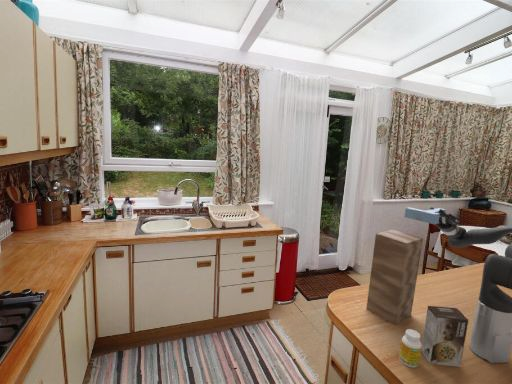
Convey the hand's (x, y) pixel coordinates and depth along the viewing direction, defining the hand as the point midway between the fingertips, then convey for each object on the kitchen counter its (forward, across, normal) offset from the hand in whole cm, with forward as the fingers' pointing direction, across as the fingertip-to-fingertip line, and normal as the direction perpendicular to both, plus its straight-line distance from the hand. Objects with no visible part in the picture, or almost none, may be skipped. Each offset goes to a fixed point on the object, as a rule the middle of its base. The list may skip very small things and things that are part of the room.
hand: (435, 210), depth 123 cm
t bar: (+2, 0, +4) cm, 5 cm away
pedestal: (+4, 0, +48) cm, 48 cm away
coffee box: (+13, +23, +53) cm, 59 cm away
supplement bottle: (+21, +18, +58) cm, 64 cm away
